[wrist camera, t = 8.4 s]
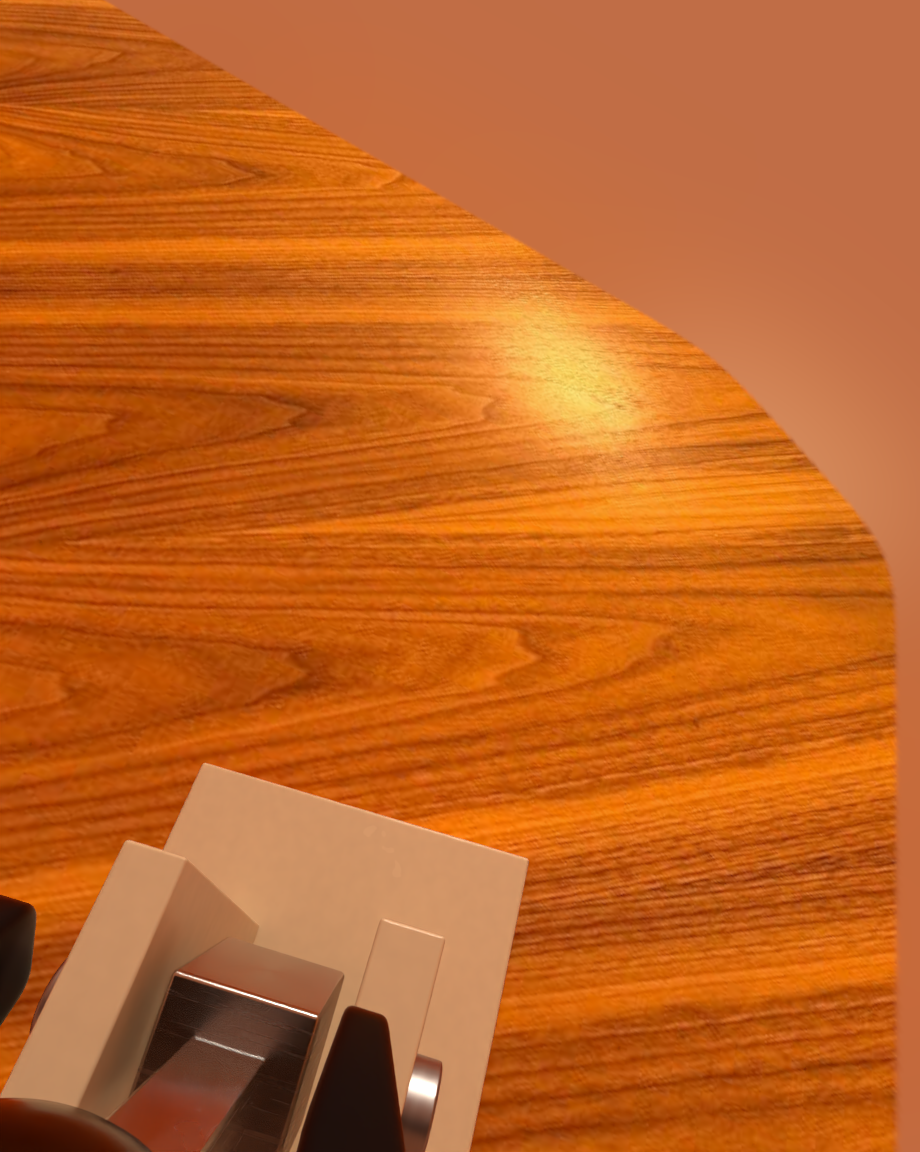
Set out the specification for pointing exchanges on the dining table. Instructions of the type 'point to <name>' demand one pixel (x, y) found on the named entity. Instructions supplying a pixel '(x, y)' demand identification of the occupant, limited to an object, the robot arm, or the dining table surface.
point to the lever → (207, 1063)
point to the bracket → (292, 944)
